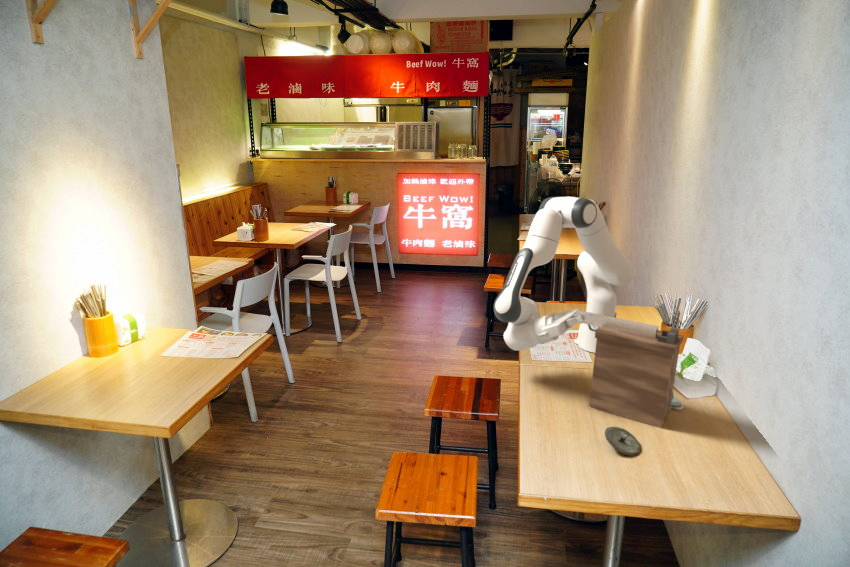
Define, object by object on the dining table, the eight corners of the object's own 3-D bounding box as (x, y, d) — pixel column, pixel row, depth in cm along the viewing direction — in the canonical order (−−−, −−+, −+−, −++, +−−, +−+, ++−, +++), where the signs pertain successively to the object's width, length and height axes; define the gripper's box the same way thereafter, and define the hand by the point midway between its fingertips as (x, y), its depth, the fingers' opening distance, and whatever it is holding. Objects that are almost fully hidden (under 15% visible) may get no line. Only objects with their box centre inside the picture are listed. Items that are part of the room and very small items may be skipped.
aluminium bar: (577, 318, 189) (578, 310, 188) (657, 335, 175) (658, 326, 175) (574, 321, 186) (575, 312, 185) (655, 338, 173) (656, 329, 172)
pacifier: (680, 402, 191) (661, 399, 192) (683, 385, 189) (664, 382, 190) (685, 412, 184) (665, 410, 185) (689, 395, 182) (668, 392, 183)
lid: (611, 433, 170) (613, 418, 169) (645, 445, 164) (647, 430, 163) (597, 448, 162) (599, 432, 161) (632, 461, 156) (634, 445, 155)
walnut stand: (599, 392, 195) (608, 311, 187) (671, 412, 183) (684, 326, 175) (587, 407, 185) (596, 322, 177) (662, 429, 173) (676, 339, 165)
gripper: (531, 328, 185) (569, 315, 177) (555, 312, 202) (590, 299, 194) (539, 346, 185) (577, 334, 177) (562, 328, 202) (598, 316, 193)
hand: (584, 316), depth 185 cm, fingers closed on aluminium bar, 3 cm apart
